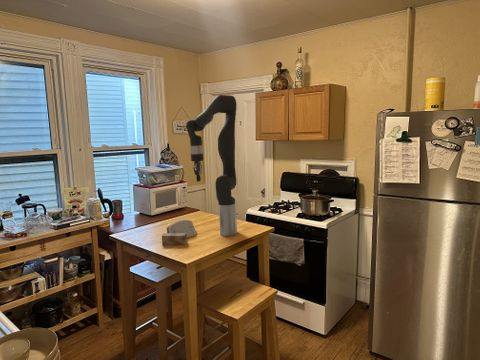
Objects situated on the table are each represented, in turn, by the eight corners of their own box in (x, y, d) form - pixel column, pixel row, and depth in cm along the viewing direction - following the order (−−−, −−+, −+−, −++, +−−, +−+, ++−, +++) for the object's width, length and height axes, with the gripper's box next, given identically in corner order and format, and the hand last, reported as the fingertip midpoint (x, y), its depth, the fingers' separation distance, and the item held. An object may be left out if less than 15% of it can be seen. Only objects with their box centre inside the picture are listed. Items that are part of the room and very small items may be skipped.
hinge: (172, 242, 172) (167, 223, 172) (168, 243, 175) (163, 225, 176) (198, 234, 183) (193, 216, 184) (193, 235, 186) (189, 218, 187)
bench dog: (187, 242, 170) (186, 233, 169) (185, 245, 166) (184, 235, 165) (165, 242, 171) (164, 233, 171) (162, 245, 167) (161, 235, 167)
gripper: (200, 153, 189) (202, 182, 192) (205, 152, 202) (207, 179, 205) (187, 154, 190) (189, 183, 193) (193, 152, 203) (195, 179, 206)
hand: (198, 181), depth 199 cm, fingers closed
